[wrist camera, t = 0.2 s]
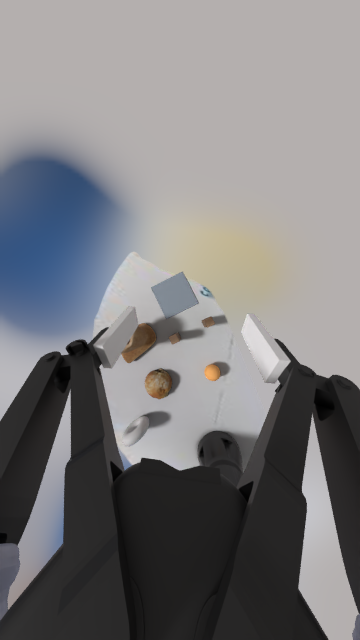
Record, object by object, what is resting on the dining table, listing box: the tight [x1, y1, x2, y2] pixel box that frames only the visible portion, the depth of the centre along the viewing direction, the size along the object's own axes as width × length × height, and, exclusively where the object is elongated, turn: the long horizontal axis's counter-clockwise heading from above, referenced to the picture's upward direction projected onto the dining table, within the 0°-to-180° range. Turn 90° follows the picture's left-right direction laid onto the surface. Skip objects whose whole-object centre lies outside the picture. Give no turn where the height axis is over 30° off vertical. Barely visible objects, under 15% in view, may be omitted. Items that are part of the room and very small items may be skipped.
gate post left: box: [169, 333, 181, 344], centre depth 47 cm, size 3×3×9 cm
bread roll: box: [145, 369, 172, 399], centre depth 49 cm, size 10×10×8 cm
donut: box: [122, 416, 149, 446], centre depth 46 cm, size 10×4×10 cm, turn 121°
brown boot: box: [121, 323, 156, 363], centre depth 45 cm, size 15×12×15 cm
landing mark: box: [151, 272, 198, 319], centre depth 52 cm, size 14×14×1 cm
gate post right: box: [202, 317, 215, 327], centre depth 46 cm, size 3×3×9 cm
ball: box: [205, 364, 220, 381], centre depth 47 cm, size 6×6×6 cm
